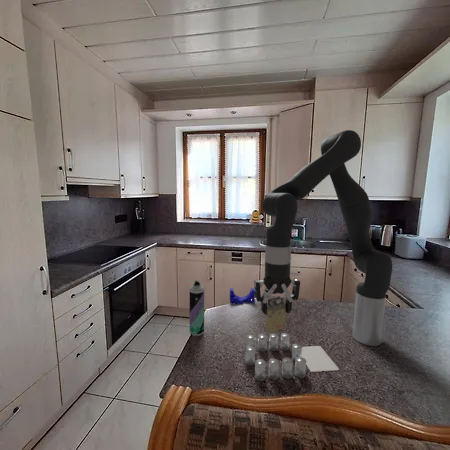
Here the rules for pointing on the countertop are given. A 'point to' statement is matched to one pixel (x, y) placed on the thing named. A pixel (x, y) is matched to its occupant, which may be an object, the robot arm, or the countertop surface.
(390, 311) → the countertop surface
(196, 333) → the spray can
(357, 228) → the robot arm
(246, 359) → the spacers
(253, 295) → the cable clip
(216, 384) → the countertop surface
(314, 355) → the tile
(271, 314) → the cream metal oval canister
